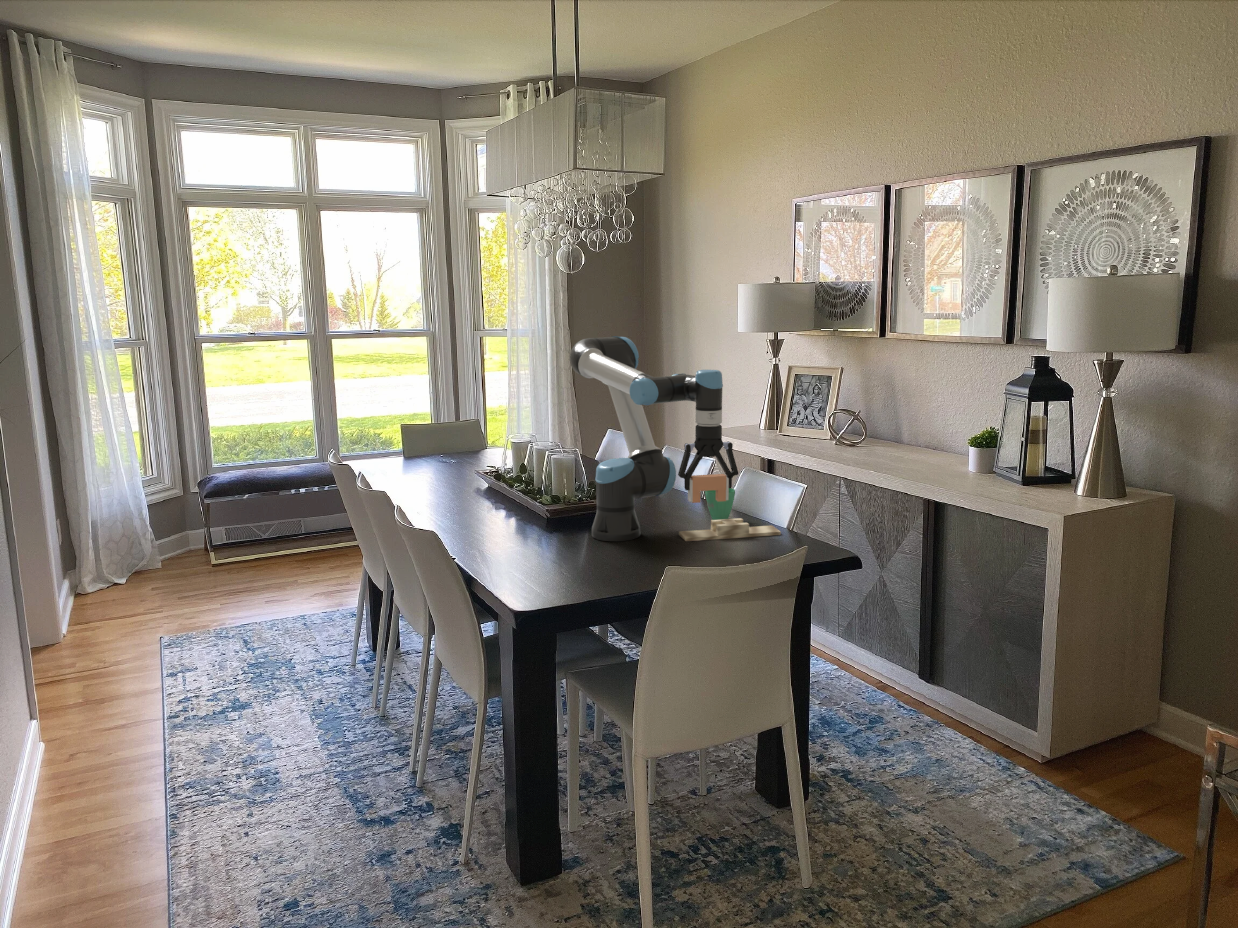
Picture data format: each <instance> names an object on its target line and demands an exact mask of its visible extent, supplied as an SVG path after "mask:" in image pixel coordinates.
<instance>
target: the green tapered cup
mask: <svg viewBox="0 0 1238 928" xmlns="http://www.w3.org/2000/svg"><path fill="white" fill-rule="evenodd" d="M735 495H736V489H734V488H732V487H731V488H729V499H728V500H726V501H719V502H718V501H717V500H716V490H709V491H704V500H705V503H706V506H707V509H708V511H709V514H710V517H711V520H720V519H730V518H729V517H730V515H731V513H732V510H733V509H732V508H733V505H734V500H735Z"/></svg>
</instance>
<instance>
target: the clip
mask: <svg viewBox="0 0 1238 928" xmlns="http://www.w3.org/2000/svg"><path fill="white" fill-rule="evenodd" d="M726 477H727V475H726V474H725V473H719V474H715V473H714V474H696V475H694V474H692V476H691V479H692V480H693V502H691V504H695V503H697V504H699V503H701V492H705V491H709V490H716V500H717V501H718V502H719V501H726Z"/></svg>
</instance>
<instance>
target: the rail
mask: <svg viewBox="0 0 1238 928" xmlns="http://www.w3.org/2000/svg"><path fill="white" fill-rule="evenodd" d="M781 533H782V531H780V530H779V529H778V528H777V527H775V526H774V525H771V524H770V525H759V526H758V525H757V526H750V523H748V522H744V519H743V518H741V517H739V518H737V517H736V518H728V519H720V520H712V519H710V529H698V530H696V529H695V530H683V531H682V530H681V531H678V535H679V536H680V537H681V538H682V540H684V542H692V541H693V542H694V541H708V540H709V541H710V540H727V539H738V538H740V539H741V538H754V537H757V538H758V537H769V536H781V535H782V534H781Z"/></svg>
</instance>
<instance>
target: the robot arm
mask: <svg viewBox="0 0 1238 928" xmlns="http://www.w3.org/2000/svg"><path fill="white" fill-rule="evenodd" d="M639 354H640V353H639V350H638V348H637V346H636V344H635V343H634V341H632V340H631V339H630V338H628V337H626V336H617V335H615V336H607V337H605V336H604V337H588V338H583V339H581V340H579V341H577V342H576V343H575V344H574V345H573V347H572V349H571V350H570V353H569V363H570V366H571V369H572V370H573V371H574V372H575V373H577V374H578V375H580V376H582V377H583V378H586V379H596V380H598V381H600V382H601V383H602V384H603V385H606V386H607V388H608V389H609V390H608V391H609V393H610V397H611V400H612V402H613V406H614V409H615V413H616V417H617V419H618V422H619V426H620V428H621V432H622V435H623V438H624V441H625V445H626V447H627V451H628V456H627V457H619V458H610V459H607V460H603V461H602V462H600V463H598V465H597V466H596V469H595V479H594V480H595V486H596V487H595V488H596V489H595V490H596V491H595V492H596V514H595V517H594V519H593V523H592V526H591V537H592V538H593V539H595V540H598V541H604V542H625V541H631V540H634V539H637V538H639V537H641V533H642V532H641V530H642V529H641V526H640V523H639V519H638V516H637V513H636V511H635V500H640V499H643V498H651V497H658V496H661V495H665V494H668V493H669V492H670V491H672V489H673V488H674V486H675V483H676V479H677V475H678V477H680V478H681V479H684V485H683V487H684V490H685V491H687V501H688V502H689V503H692V502H693V480H692V479H691V476H692V475H694V472H695V470H696V469H697V467H698V465H699V463H700V461H701V460H702V459H703V458H709V457H712V458H716V459H717V462H718V463H719V465H720V467H721V468H722V470H723V472H724V475H726V500H728V499H729V488H732V487H733V486H732V485H733V477H735V476H738V475H739V470H738V467H737V462H736V459H735V456H734V453H733V452H734V451H733V446H734V445H733V443H732V442H731V441H729V440H728V441H723V439H722V438H723V427H722V425H721V424H723V387H724V384H723V374H722V371H720V370H718V369H699V370H697V371H696V372H695V375H691V374H686V373H674V374H672V375H667V376H665V375H664V376H652V375H650V374H647V373H645V372H643V371H641V370H638V369H637V368H638V366H639V358H640V355H639ZM686 401H687V402H694V403H695V424H696V425H695V433H694V434H695V438H694V439H695V440H694V443H687V442H686V443H684V451H683V455H682V459H681V462H680V466H679V470H678V472H677V470H676V465H675V463H674V461H673V460H672V459H671V458H670V457H667V456H664V453H663V451H662V449H661V448H660V447H658V446H656V444H655V441H654V438H653V434H652V432H651V428H650V425H649V423H648V419H647V416H646V413H645V410H644V406H650V405H656V404H658V405H659V404H665V403H675V402H686ZM643 405H644V406H643ZM694 448H695V450H696V453H695V455H694V457H693V459H692V461H691V462H690V463H689V461H690V458H691V454H692V451H694ZM722 448H723V449H724V450H725V451H726V456H727V459H728V463H729V466H730V468H729V466H728V465H727V463H726V461H725V460H724V457H723V456H722V454H721V452H720V451H721V449H722ZM689 464H690V465H689ZM688 465H689V466H688Z"/></svg>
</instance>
